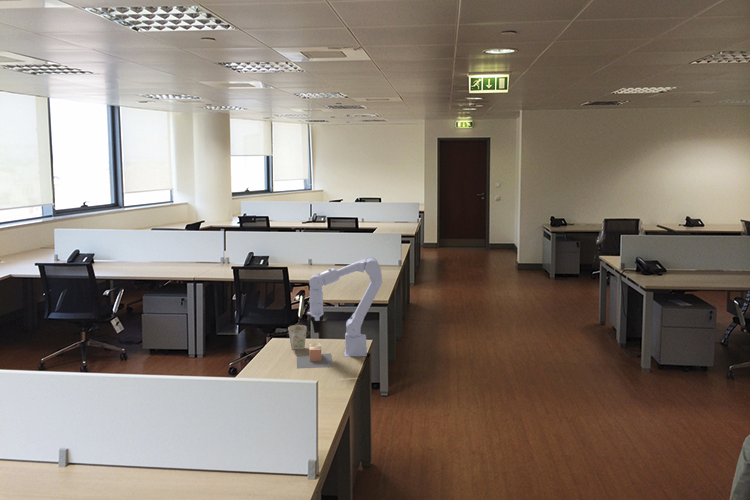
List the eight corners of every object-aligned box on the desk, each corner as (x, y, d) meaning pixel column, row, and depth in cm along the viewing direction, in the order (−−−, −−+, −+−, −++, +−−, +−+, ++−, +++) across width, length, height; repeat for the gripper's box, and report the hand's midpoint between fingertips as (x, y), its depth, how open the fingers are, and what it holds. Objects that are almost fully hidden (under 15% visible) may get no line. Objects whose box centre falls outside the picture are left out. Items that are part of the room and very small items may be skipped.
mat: (330, 354, 285) (330, 353, 285) (333, 367, 268) (333, 366, 268) (296, 355, 284) (296, 354, 284) (296, 369, 266) (296, 368, 266)
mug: (308, 345, 298) (308, 325, 297) (303, 354, 286) (302, 332, 284) (291, 345, 299) (290, 324, 298) (284, 353, 287) (284, 332, 285)
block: (321, 360, 275) (320, 354, 284) (321, 349, 275) (320, 343, 284) (309, 361, 275) (309, 354, 284) (309, 349, 274) (309, 343, 283)
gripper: (306, 298, 288) (307, 328, 290) (307, 306, 273) (308, 337, 275) (322, 298, 288) (323, 327, 290) (324, 306, 274) (324, 336, 276)
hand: (316, 332), depth 283 cm, fingers closed
